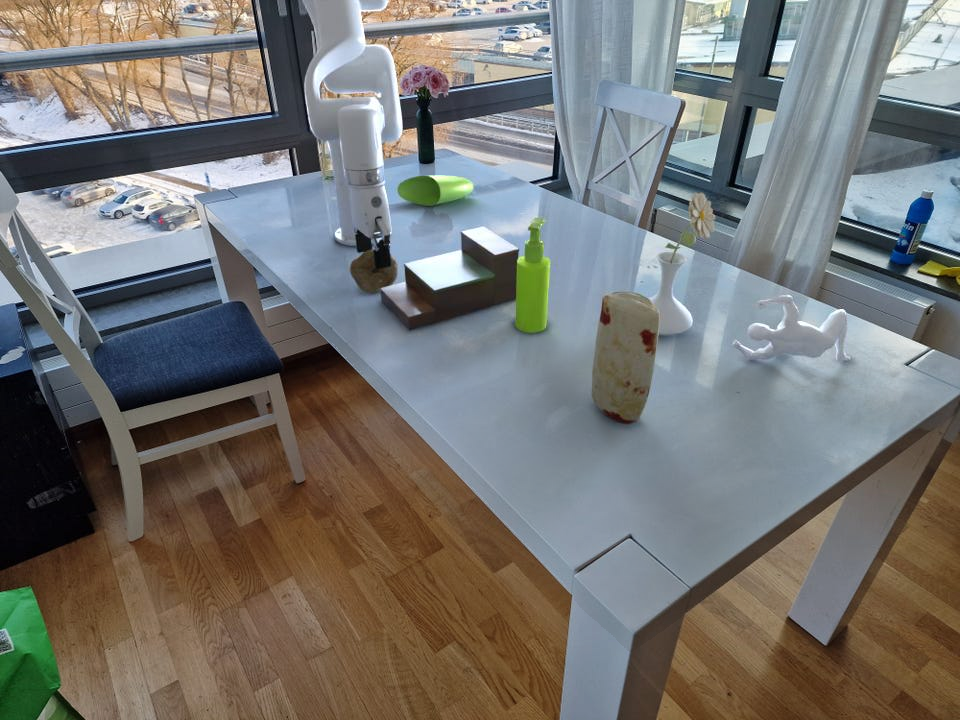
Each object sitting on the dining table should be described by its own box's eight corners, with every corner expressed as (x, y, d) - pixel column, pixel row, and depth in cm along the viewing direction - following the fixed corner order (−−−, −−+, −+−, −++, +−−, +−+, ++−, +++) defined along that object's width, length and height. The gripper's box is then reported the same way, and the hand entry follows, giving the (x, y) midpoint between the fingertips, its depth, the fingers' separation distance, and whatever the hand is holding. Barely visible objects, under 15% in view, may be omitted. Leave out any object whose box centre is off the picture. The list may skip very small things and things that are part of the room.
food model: (578, 406, 98) (590, 292, 87) (606, 389, 102) (620, 277, 90) (628, 437, 92) (648, 318, 81) (656, 418, 95) (679, 302, 84)
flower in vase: (656, 347, 112) (680, 212, 98) (616, 319, 120) (633, 190, 107) (710, 329, 117) (741, 198, 103) (668, 303, 125) (692, 179, 112)
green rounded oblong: (415, 179, 162) (482, 172, 171) (396, 175, 172) (460, 169, 181) (417, 210, 165) (483, 202, 174) (398, 205, 174) (461, 197, 184)
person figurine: (818, 278, 110) (762, 289, 100) (883, 322, 103) (830, 339, 93) (778, 336, 118) (722, 352, 108) (835, 380, 111) (781, 402, 101)
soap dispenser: (551, 317, 121) (557, 217, 110) (542, 335, 116) (548, 232, 105) (521, 312, 123) (525, 213, 112) (511, 329, 117) (514, 228, 106)
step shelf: (381, 301, 127) (375, 250, 121) (483, 274, 137) (483, 226, 131) (409, 331, 117) (405, 277, 111) (517, 299, 127) (519, 248, 121)
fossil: (342, 262, 128) (382, 240, 132) (340, 271, 132) (379, 249, 136) (368, 298, 128) (407, 274, 132) (365, 305, 132) (403, 282, 136)
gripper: (401, 183, 115) (408, 270, 124) (366, 162, 128) (374, 242, 137) (362, 190, 112) (372, 278, 121) (330, 167, 124) (341, 249, 133)
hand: (373, 259), depth 129 cm, fingers open, 9 cm apart
